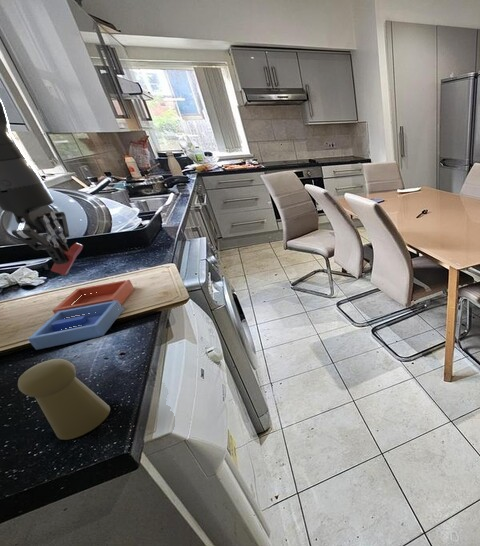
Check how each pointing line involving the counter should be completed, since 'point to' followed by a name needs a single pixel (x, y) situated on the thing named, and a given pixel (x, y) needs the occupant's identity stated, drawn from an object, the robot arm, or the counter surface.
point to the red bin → (97, 295)
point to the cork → (63, 398)
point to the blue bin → (51, 338)
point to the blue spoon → (73, 322)
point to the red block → (70, 255)
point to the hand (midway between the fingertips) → (65, 261)
